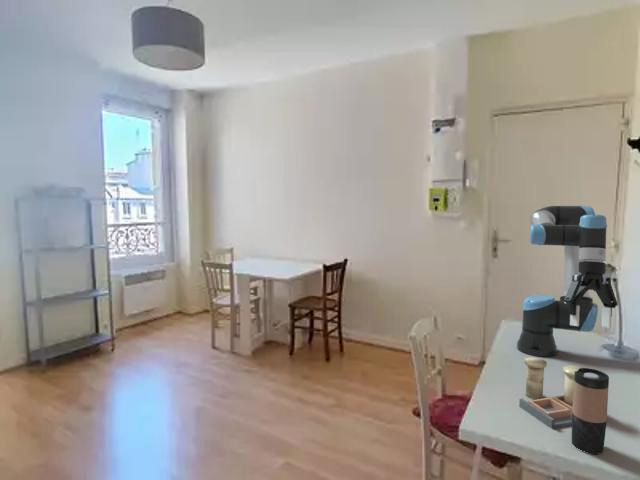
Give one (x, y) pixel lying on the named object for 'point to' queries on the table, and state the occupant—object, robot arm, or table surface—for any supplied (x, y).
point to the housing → (554, 404)
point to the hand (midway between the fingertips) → (590, 326)
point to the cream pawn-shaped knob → (535, 377)
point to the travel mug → (589, 410)
